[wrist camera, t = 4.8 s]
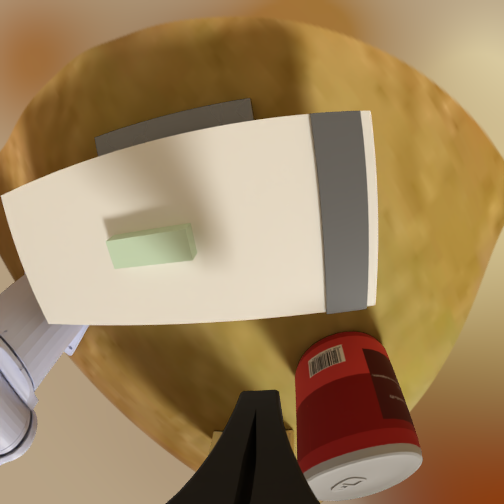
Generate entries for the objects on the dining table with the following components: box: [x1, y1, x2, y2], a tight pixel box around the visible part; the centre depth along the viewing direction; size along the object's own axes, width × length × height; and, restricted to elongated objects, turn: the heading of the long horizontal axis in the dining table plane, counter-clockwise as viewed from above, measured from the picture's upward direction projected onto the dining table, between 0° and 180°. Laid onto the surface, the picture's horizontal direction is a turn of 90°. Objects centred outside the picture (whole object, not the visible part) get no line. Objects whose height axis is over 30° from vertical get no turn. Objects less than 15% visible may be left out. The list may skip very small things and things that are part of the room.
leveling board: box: [1, 111, 378, 325], centre depth 14 cm, size 20×9×3 cm, turn 99°
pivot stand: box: [95, 98, 254, 157], centre depth 17 cm, size 10×12×4 cm
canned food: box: [295, 332, 422, 501], centre depth 18 cm, size 8×8×11 cm
